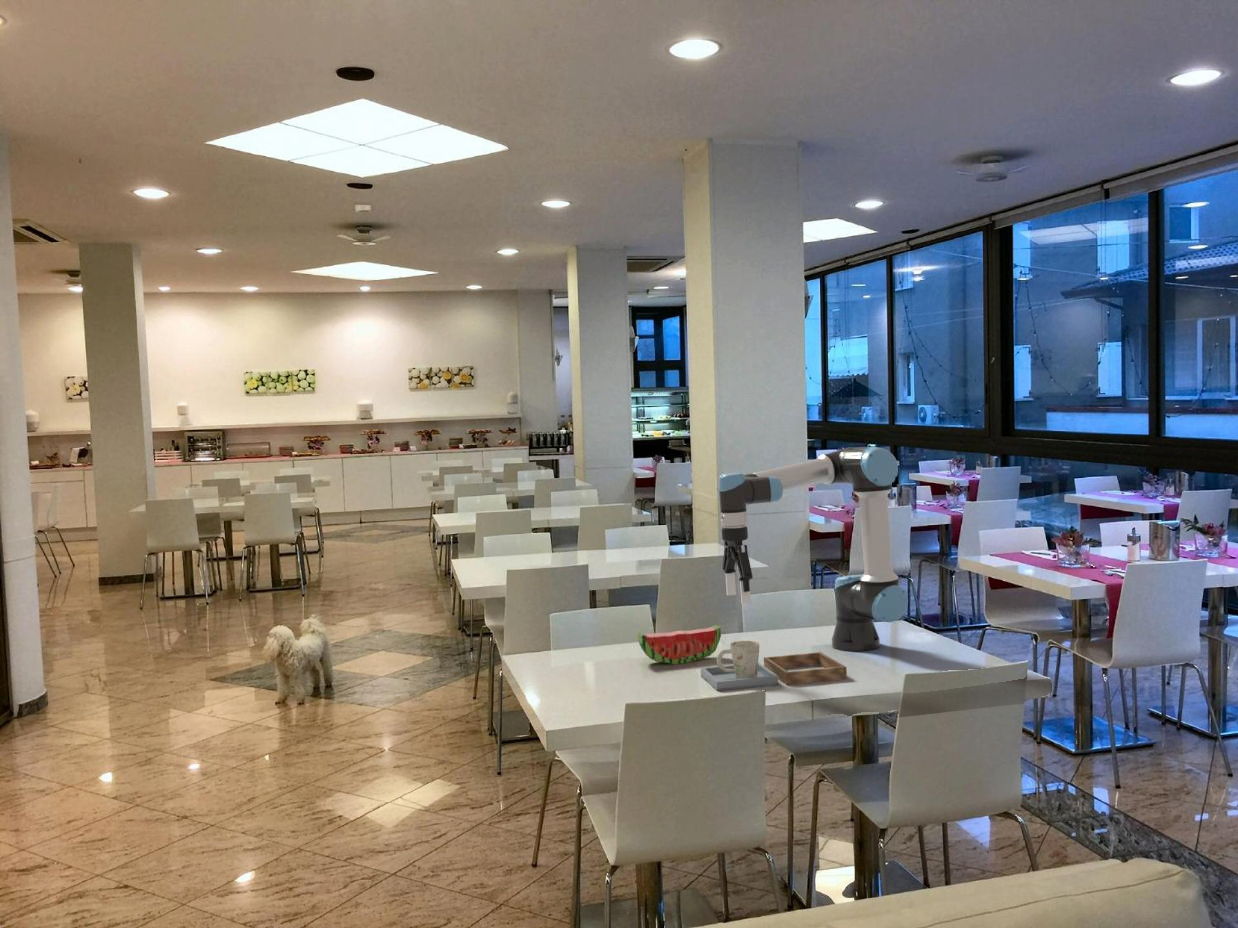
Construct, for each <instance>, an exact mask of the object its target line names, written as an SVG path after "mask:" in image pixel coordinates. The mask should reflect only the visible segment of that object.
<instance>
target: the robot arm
mask: <svg viewBox="0 0 1238 928" xmlns="http://www.w3.org/2000/svg"><path fill="white" fill-rule="evenodd" d="M898 473H899V466H898V461H897V459H896V457H895V456H894V454H893V453H892V452H891V451H889V450H888V449H886V448H882V447H877V446H866V447H865V446H860V447H857V446H852V447H846V448H843V449H838V450H835V451H832V452H829V453H826V454H821V455H819V456H818V457H817V458H816V459H812V460H808V461H803V462H798V463H794V464H789V465H785V466H780V467H779V466H778V467H776V468H771V469H766V470H762V471H756V472H752V473H748V474H744V473H742V472H729V473H722V474H720V475H719V477H718V492H719V493H718V494H719V495H718V496H719V509H720V516H718V518H719V520H720V522H721V523H720V524H721V526H722V527H721V540H722V541H723V546H724V549H723V561H722V571H724V573H725V587H726V596H736V595H737V587H736V586H737V585H736V569H735V567H736V566H737V570H738V573H739V579H738V581H739V588H740V600H741V601H740V602H741V604H749V603H750V604H751V603H752V594H751V593H752V592H751V579H753V573H752V568H751V562H750V558H749V552H748V545H747V544H743V542H744V541H747V540H748V538H749V531H748V527H747V526H746V525H748V514H747V513H748V511H747V505H753V504H754V505H755V504H765V503H773V502H778V501H780V500H781V498H782V497H783V493H784V492H786V491H791V490H795V489H799V488H802V487H808V486H814V485H817V484H821V483H822V484H824V485H831V484H832V485H833V484H852V492H853V494H855V495H856V496H857V497H858V504H859V516H860V518H859V519H860V530H861V545H862V557H863V570H864V572H863V574H852V575H843V576H838V577H837V578H836V579H835V580H834V594H835V595H834V596H835V617H836V623H835V626H834V631H833V634H832V637H831V646H832V647H833V648H834V649H837V650H841V651H851V652H855V651H856V652H858V651H859V652H861V651H870V650H875V649H877V648H880V647H881V644H880V643H881V640H880V637H879V634H878V632H877V628H876V626H875V624H874V621H876V622H881V623H893V622H896V621H899V619H900V618H902V617H903V615H904V614H905V612H906V610H907V607H908V604H909V603H908V602H909V600H908V599H909V598H908V594H907V591H906V590H904V588H903V587H901V586H900V584H899V580H900V579H899V576H898V574H896V573H895V572H894V570H893V569H894V568H893V558H892V544H891V543H892V542H891V530H890V529H891V528H890V517H889V503H888V495H889V494H890V492H891V491H892V489H893V488H892V487H893V485H892V483H894V482H895V481H896V478H897V477H898Z"/></svg>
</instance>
